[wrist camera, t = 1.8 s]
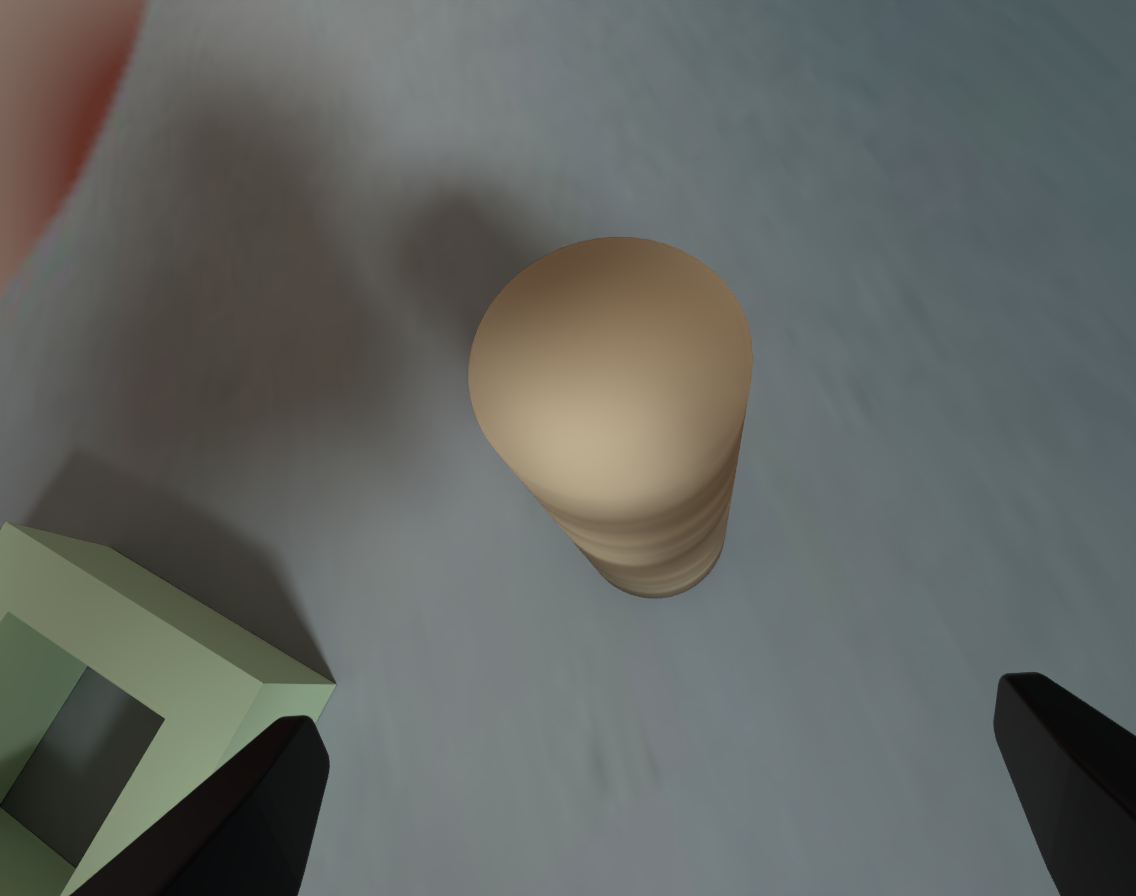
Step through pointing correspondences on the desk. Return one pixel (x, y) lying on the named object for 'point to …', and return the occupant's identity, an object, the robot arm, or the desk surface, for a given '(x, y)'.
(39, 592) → the pale green square holder
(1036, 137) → the desk surface
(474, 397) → the beige ridged cylinder
